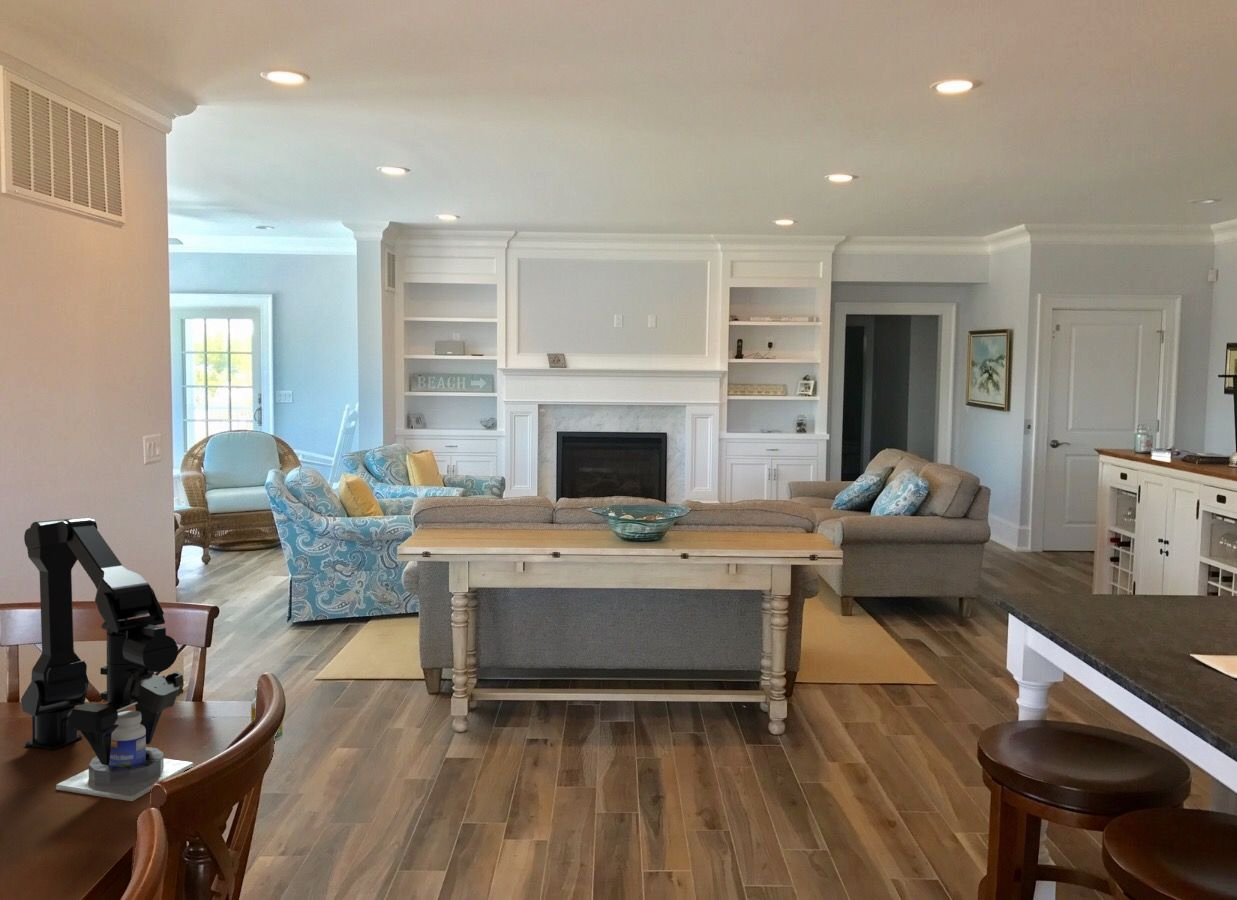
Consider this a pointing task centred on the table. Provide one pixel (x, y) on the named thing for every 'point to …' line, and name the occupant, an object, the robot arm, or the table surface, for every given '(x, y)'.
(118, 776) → the collar
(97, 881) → the table surface
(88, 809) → the table surface
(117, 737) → the pill bottle
